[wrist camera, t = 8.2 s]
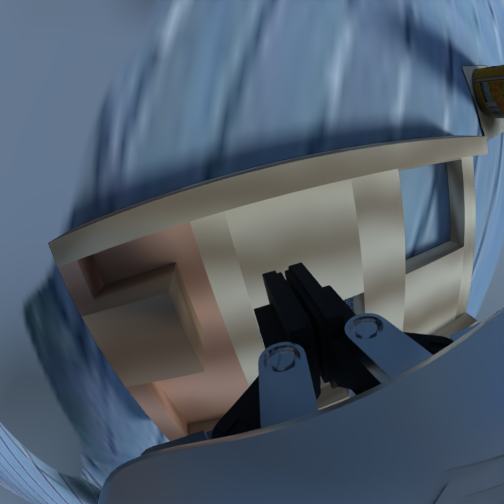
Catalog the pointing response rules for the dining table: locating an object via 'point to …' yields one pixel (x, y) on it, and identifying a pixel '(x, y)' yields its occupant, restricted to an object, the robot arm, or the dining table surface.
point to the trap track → (283, 258)
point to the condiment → (488, 96)
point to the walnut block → (147, 327)
